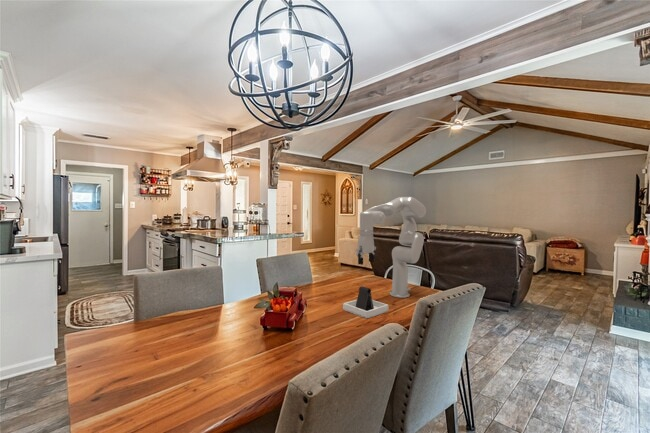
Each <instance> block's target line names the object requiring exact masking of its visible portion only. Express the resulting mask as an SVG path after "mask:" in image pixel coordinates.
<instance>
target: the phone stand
mask: <svg viewBox="0 0 650 433" xmlns="http://www.w3.org/2000/svg"><path fill="white" fill-rule="evenodd" d="M357 294H358V295H357V299H356V300H357V302H356V306H355V307H357V308H360V309H362V310H365V311H369V310H372V309H374V307H373V302H372V300H373V298H372V289H371V288H369V287H365V286H362V285H361V286H359V287H358V293H357Z"/></svg>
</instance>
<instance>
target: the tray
mask: <svg viewBox="0 0 650 433" xmlns="http://www.w3.org/2000/svg"><path fill="white" fill-rule="evenodd" d="M356 302H357V299H353V300H351V301H347V302H344V303H342V311H345V312H349V313H351V314H352V315H353V314H354V315H356V316H358V317H361V318H363V319H366V320H368V319H370V318H374V317H376V316H380V315H382V314H384V313H388V312H389V308H390V307H389V304H387V303H383V302H381V301H377V300H374V299H372V302H373V307H374V309H372V310H369V311H365V310H362V309H360V308H357V307H355V306H356Z"/></svg>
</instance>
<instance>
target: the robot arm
mask: <svg viewBox="0 0 650 433" xmlns="http://www.w3.org/2000/svg"><path fill="white" fill-rule="evenodd" d="M398 213H400V215H401V217H402V221H403V225H402V228H401V231H400V233H399V236H398V242H399V244H400V245H399V246H398V245H397V246H394V247H393V249H392V250H391V258H392V285H391V286H392V287H391V291H389V295H390V296H392V297H395V298H402V299H403V298H405V299H406V298H409V297H410V293H409V291H411V287H408V280H409V277H408V276H409V266H408V264H416V263H417V262H418V261H419V259H420V257H421V253H422V249H423V248H424V247H423V246H424V243H425V240H424V239H425V238H424V235H423V234H422V233H421V232H418V231H416V230H417V223H416V220H415V219H416V218H417V219H420V218H422V219H423V217H425V216H426V214H427V208H426V207H425V205H424V204H423V203H422V202H420V201H419V200H418V199H416V198H415V197H413V196H399V197H396V198H394V199H392V200H390V201H389V202H386V203H382V204H379V205H376V206H372V207H370V208H368V209H366V210H365V211H361V212H359V235H358V240H357V248H356V249H355V253H356V256H357V259H358V260H357V264H358V265H364V255H366V254H368V262H371V263H374V262H375V254H376V251H377V250H376V249H377V246H375V241H374V240H375V239H374V225H381V224H383V223H384V222H385V221H386V218H388V217H392V216H395V215H397V214H398ZM414 218H415V219H414ZM401 245H402V246H401Z"/></svg>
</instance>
